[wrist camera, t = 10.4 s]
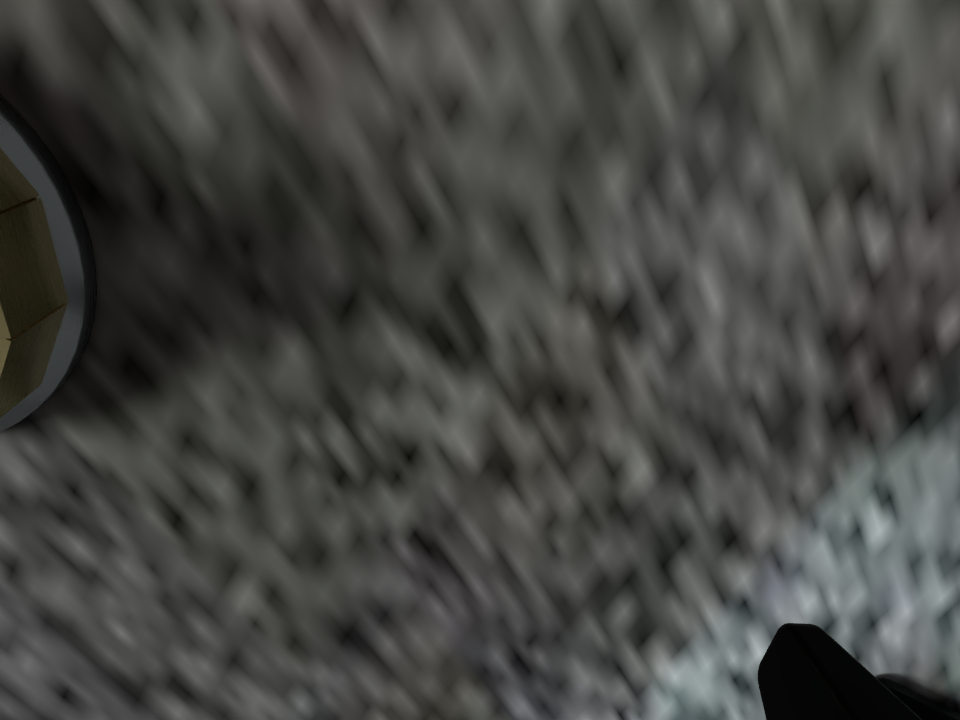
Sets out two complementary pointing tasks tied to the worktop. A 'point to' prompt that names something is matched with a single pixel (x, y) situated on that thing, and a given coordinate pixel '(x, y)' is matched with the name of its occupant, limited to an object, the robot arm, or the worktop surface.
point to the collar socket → (39, 272)
